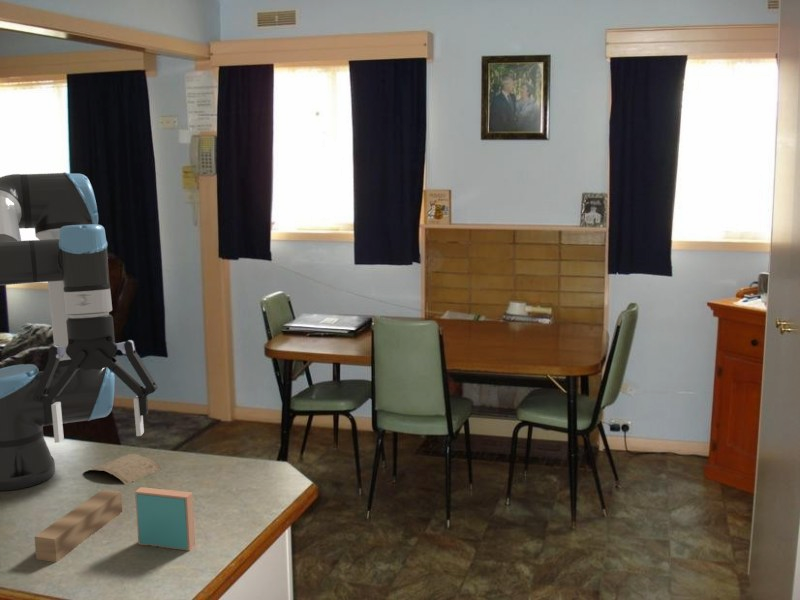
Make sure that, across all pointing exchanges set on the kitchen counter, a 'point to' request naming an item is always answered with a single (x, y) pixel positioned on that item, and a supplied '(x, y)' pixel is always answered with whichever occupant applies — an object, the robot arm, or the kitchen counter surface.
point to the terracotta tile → (165, 518)
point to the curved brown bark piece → (129, 467)
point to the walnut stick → (77, 525)
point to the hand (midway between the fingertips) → (100, 437)
